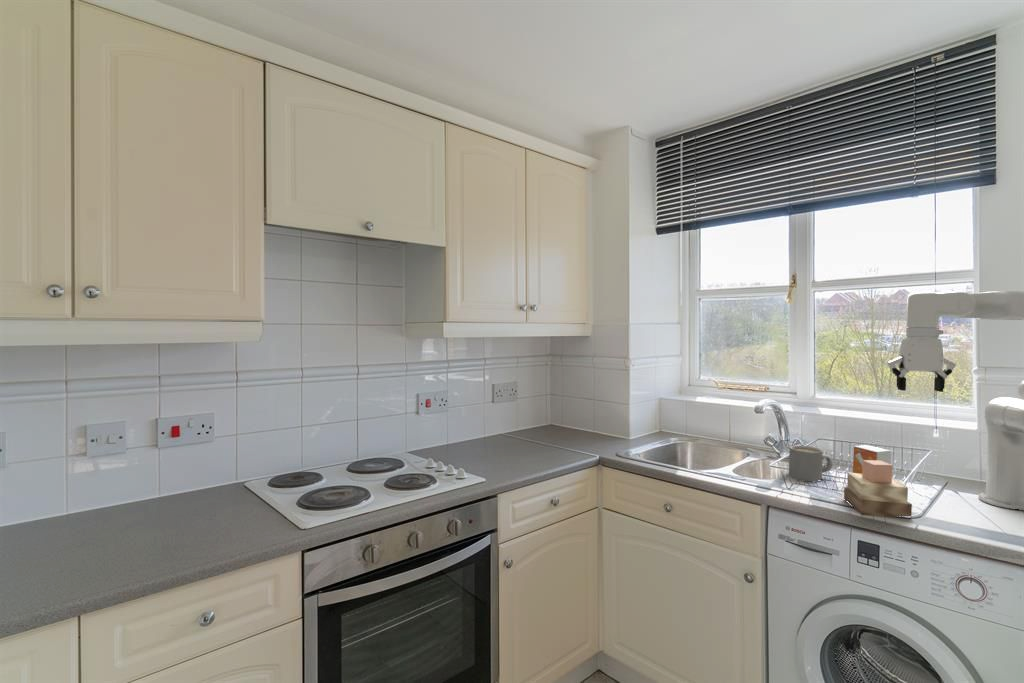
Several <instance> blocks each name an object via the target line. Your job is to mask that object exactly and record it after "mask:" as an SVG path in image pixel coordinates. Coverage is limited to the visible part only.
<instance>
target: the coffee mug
mask: <svg viewBox="0 0 1024 683" xmlns="http://www.w3.org/2000/svg"><path fill="white" fill-rule="evenodd" d="M788 452H789V454H788V458H789V459H788V476H789V477H790V478H792V479H794V480H797V481H801V482H807V481H818V480H821V479H822V480H823V473H824V474H825V473H827V472H829V471H831V469H832V468H833V459H832V457H831V456H830V455H828V454H825V453H824V452H823V449H821V448H818V447H815V446H809V445H800V444H799V445H798V444H797V445H795V444H794V445H790V446H789V450H788ZM824 459H826V461H827V464H826V466H823V460H824Z"/></svg>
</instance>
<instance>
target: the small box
mask: <svg viewBox="0 0 1024 683" xmlns="http://www.w3.org/2000/svg"><path fill="white" fill-rule="evenodd" d="M852 460H853V461H852V473H860V474H862V464H863V460H879V461H883V462H886V463H888V464H891V465H892V463H891V462H892V450H890V449H885V448H881V447H877V446H873V445H869V444H861V445H854V446H853V458H852Z"/></svg>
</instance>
